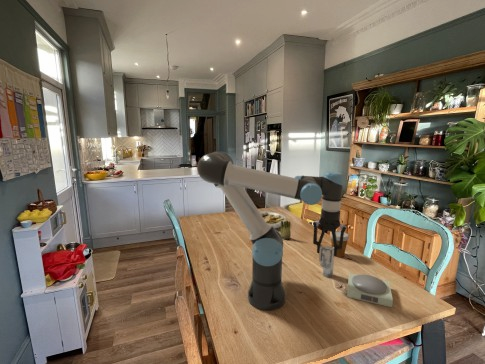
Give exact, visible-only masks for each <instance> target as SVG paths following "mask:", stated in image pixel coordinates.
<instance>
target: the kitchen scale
mask: <svg viewBox="0 0 485 364" xmlns="http://www.w3.org/2000/svg"><path fill="white" fill-rule="evenodd" d="M347 282H348V283H347V293H346V294H347V295H346V297H347V298H351V299H354V300H359V301H364V302H368V303H371V304H376V305H379V306H380V305H381V306H384V307H388V308H393V304H394V303H393V302H394V299H393V295H392V290H391V285H390V281H389V280H384V279H380V278H378V277H376V276H373V275H369V274H356V273H355V274H353V273H348V279H347Z"/></svg>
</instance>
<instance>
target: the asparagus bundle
mask: <svg viewBox="0 0 485 364" xmlns="http://www.w3.org/2000/svg"><path fill="white" fill-rule="evenodd" d="M280 235H281V236H282V239H283V240H289V239H291V235H292V234H291V221H290V220H285V221H284V225H283V220H282V221H281V227H280Z"/></svg>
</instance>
